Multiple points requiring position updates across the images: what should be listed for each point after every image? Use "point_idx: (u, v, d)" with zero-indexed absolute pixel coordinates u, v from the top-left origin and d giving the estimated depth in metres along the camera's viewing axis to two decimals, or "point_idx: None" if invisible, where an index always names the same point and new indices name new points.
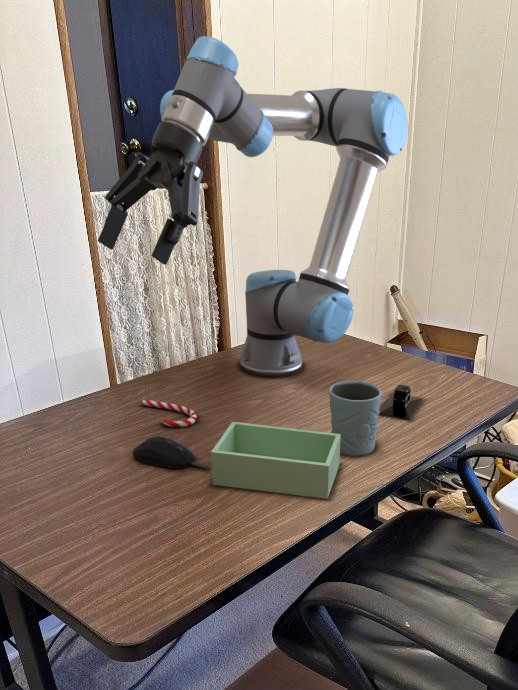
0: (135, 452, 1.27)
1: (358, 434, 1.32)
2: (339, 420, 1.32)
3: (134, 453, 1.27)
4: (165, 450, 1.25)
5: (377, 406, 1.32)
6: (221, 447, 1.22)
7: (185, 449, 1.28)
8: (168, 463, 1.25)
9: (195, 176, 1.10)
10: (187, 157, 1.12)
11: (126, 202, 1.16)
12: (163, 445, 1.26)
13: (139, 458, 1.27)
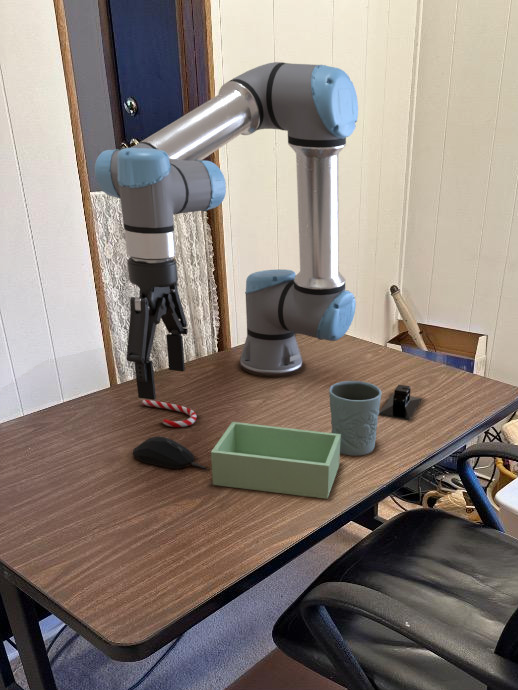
0: (135, 452, 1.27)
1: (358, 434, 1.32)
2: (339, 420, 1.32)
3: (134, 453, 1.27)
4: (165, 450, 1.25)
5: (377, 406, 1.32)
6: (221, 447, 1.22)
7: (185, 449, 1.28)
8: (168, 463, 1.25)
9: (138, 310, 1.07)
10: (142, 287, 1.08)
11: (172, 327, 1.22)
12: (163, 445, 1.26)
13: (139, 458, 1.27)
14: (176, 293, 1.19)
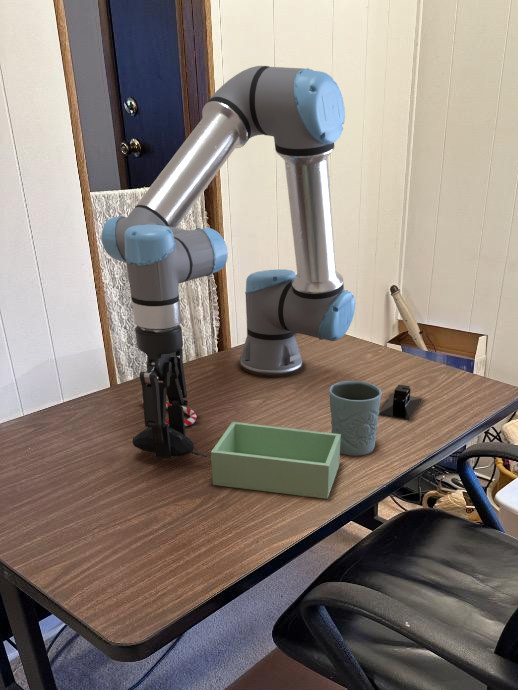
0: (135, 441, 1.26)
1: (358, 434, 1.32)
2: (339, 420, 1.32)
3: (134, 442, 1.26)
4: None
5: (377, 406, 1.32)
6: (221, 447, 1.22)
7: (185, 437, 1.27)
8: None
9: (148, 383, 1.14)
10: (149, 354, 1.14)
11: (174, 397, 1.26)
12: None
13: (139, 447, 1.26)
14: (181, 360, 1.24)
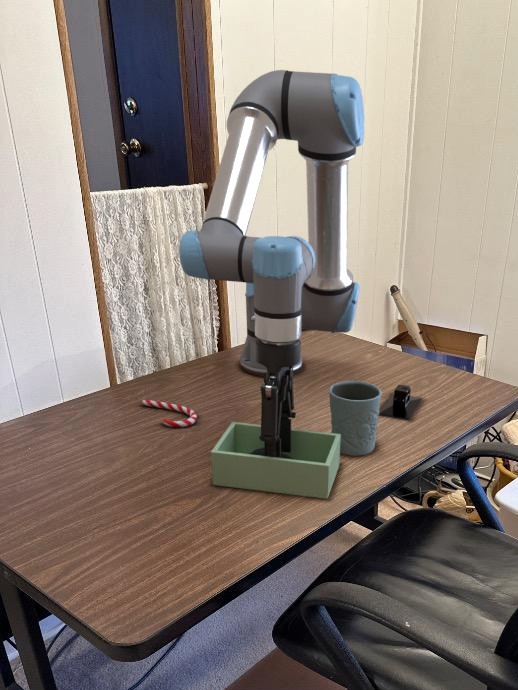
0: None
1: (358, 434, 1.32)
2: (339, 420, 1.32)
3: None
4: None
5: (377, 406, 1.32)
6: (221, 447, 1.22)
7: None
8: None
9: (268, 396, 1.12)
10: (270, 368, 1.12)
11: (283, 409, 1.24)
12: None
13: None
14: (292, 372, 1.22)
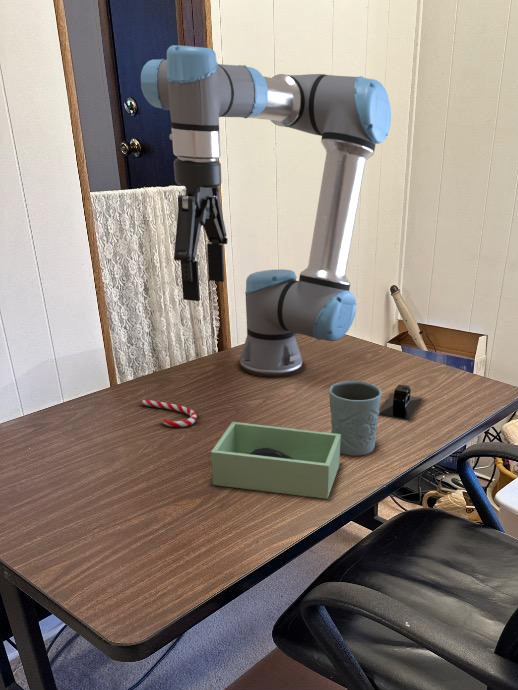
0: None
1: (358, 434, 1.32)
2: (339, 420, 1.32)
3: None
4: None
5: (377, 406, 1.32)
6: (221, 447, 1.22)
7: None
8: None
9: (185, 208, 1.10)
10: (188, 187, 1.12)
11: (213, 236, 1.25)
12: (273, 456, 1.24)
13: None
14: (218, 200, 1.22)
